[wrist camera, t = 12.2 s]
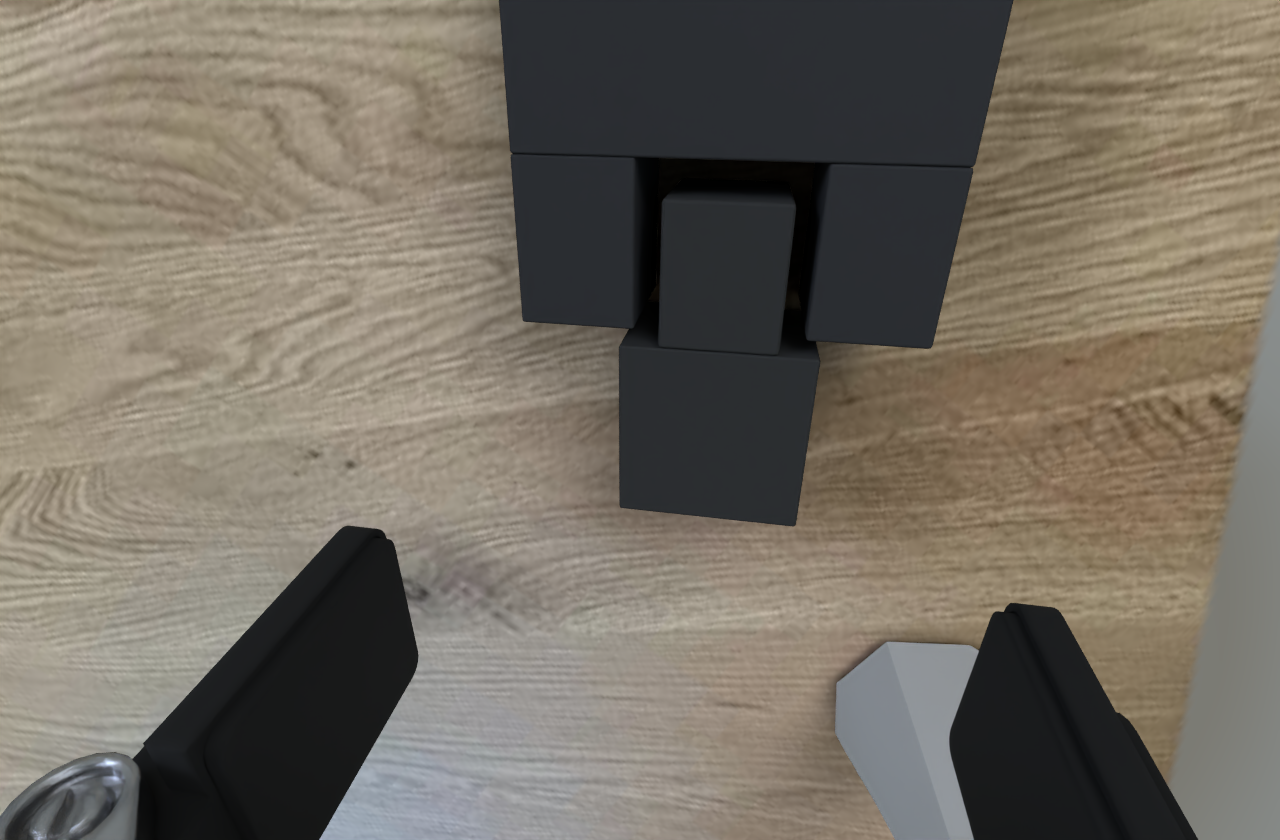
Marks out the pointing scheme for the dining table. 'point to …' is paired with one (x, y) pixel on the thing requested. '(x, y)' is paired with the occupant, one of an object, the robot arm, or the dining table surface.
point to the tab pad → (719, 362)
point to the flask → (908, 735)
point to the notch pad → (749, 143)
